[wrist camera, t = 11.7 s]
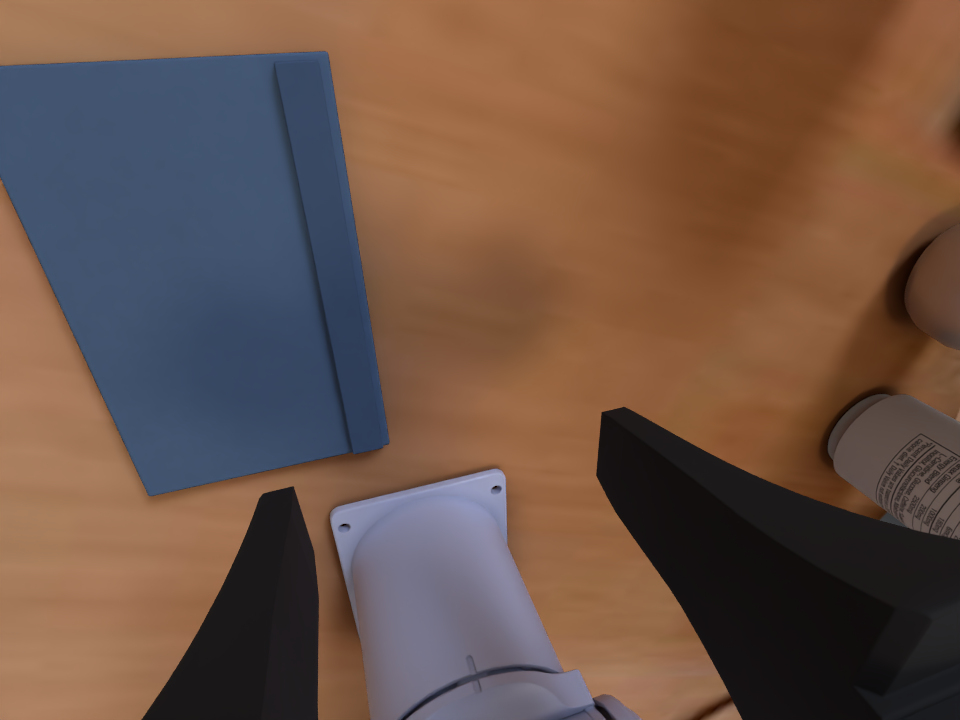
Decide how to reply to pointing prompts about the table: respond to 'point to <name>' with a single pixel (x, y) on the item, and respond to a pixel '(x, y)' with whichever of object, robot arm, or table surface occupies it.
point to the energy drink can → (902, 460)
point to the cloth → (201, 255)
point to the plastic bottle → (937, 289)
